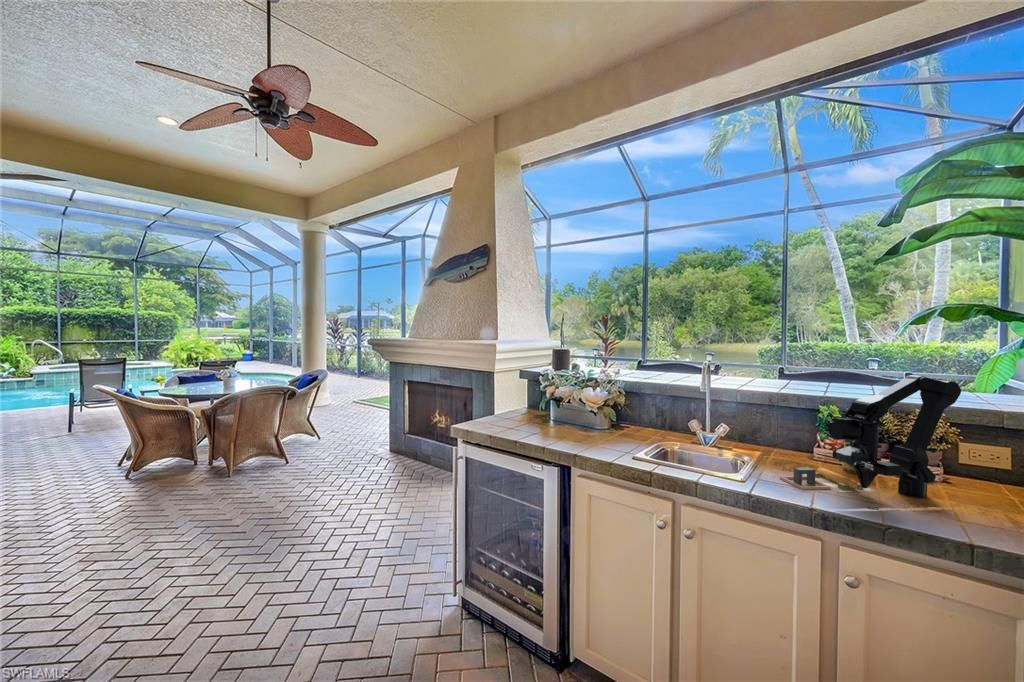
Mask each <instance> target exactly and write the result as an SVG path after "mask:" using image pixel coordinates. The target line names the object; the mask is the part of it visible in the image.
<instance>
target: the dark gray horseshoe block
mask: <svg viewBox="0 0 1024 682" xmlns="http://www.w3.org/2000/svg"><path fill="white" fill-rule="evenodd" d="M815 472H817V469H815V468H812V467H794V468H793V476H794V479H793V482H795V483H797V484H799V485H801V486H803V479H802V476H803V475H802V474H807V479H806V483H807V484H809V485H810V486H816V483H815Z"/></svg>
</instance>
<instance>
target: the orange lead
mask: <svg viewBox="0 0 1024 682" xmlns="http://www.w3.org/2000/svg"><path fill="white" fill-rule="evenodd" d="M816 472H817V473H820V476H822V477H825V478H827V479H829V480H832V481H834V482H836V483H843V484H846V485H848V488H850V489H856V488H857V487H858V483H859V482H857V481H856V480H854V479H851V478H850V477H848V476H844V475H841V474H840V473H837V472H835V471H831V470H829V469H827V468H825V467H818V468H817V469H816Z"/></svg>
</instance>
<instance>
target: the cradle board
mask: <svg viewBox="0 0 1024 682" xmlns="http://www.w3.org/2000/svg"><path fill="white" fill-rule="evenodd" d="M802 476H807V474H802ZM815 480H817V481H819V482H821V483H823V484H826V485H828V486H830V487H831V490H835V491H837V493H838V492H839V493H871V492H872V493H876V492H878V491H877V490H875V489H872V488H870V487H868V488H862V486H861V484H860V482H857V483H858V487H857V488H856V489H850V488H848V485H846V484H843V483H836V482H834V481H832V480H829V479H827V478H825V477H822V476H820V473H817V471H816V472H815Z"/></svg>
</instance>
